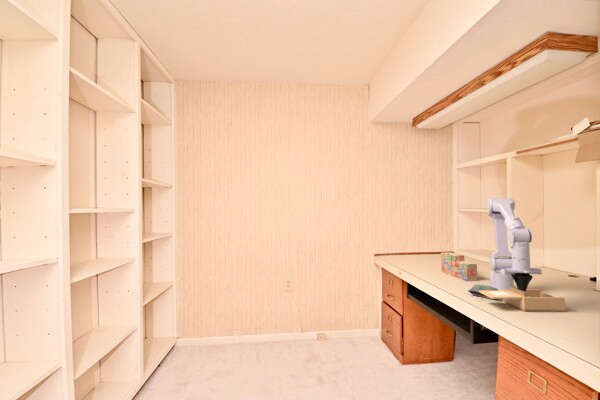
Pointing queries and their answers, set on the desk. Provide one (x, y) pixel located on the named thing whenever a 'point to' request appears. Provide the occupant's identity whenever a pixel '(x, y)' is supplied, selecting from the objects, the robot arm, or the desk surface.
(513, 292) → the lid
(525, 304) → the light brown rectangular box
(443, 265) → the stack of blocks
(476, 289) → the packaged food
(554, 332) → the desk surface
